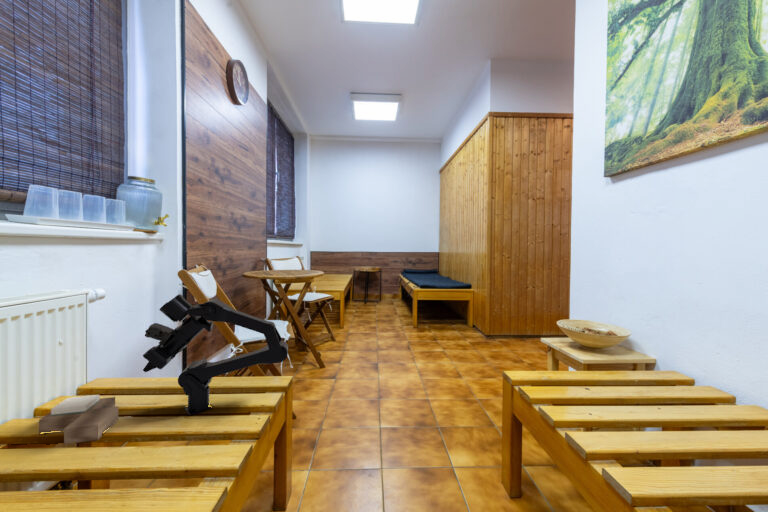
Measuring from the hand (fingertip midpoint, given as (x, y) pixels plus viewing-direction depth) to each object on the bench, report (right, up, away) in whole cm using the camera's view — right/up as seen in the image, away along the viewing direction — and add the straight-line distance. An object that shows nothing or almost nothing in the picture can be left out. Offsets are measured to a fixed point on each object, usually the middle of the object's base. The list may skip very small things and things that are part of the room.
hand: (144, 370), depth 91 cm
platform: (-12, -13, -7) cm, 19 cm away
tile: (-12, -8, -4) cm, 15 cm away
